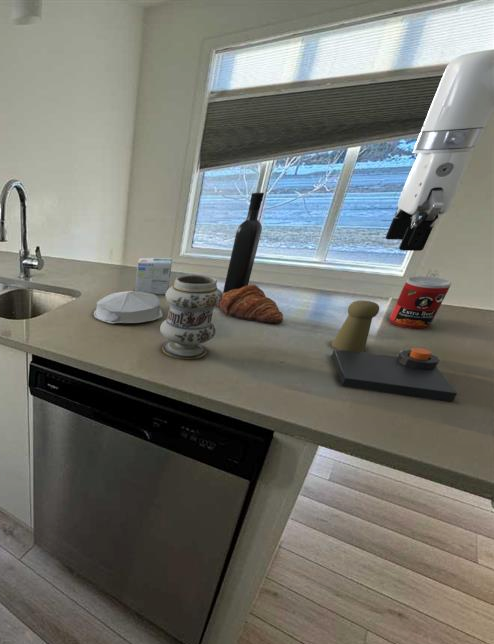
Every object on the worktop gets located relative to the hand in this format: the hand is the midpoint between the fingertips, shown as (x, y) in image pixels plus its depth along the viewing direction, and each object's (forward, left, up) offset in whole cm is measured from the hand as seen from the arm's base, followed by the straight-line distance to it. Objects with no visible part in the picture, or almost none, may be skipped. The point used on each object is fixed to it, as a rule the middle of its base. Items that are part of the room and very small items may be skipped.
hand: (402, 244), depth 78 cm
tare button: (-9, +3, -22) cm, 24 cm away
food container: (+52, -13, -25) cm, 59 cm away
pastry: (+21, -23, -25) cm, 40 cm away
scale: (-4, +8, -25) cm, 26 cm away
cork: (0, -6, -25) cm, 26 cm away
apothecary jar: (+34, +8, -25) cm, 43 cm away
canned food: (-15, -26, -25) cm, 39 cm away
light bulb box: (+49, -37, -25) cm, 67 cm away
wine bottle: (+24, -40, -25) cm, 53 cm away
